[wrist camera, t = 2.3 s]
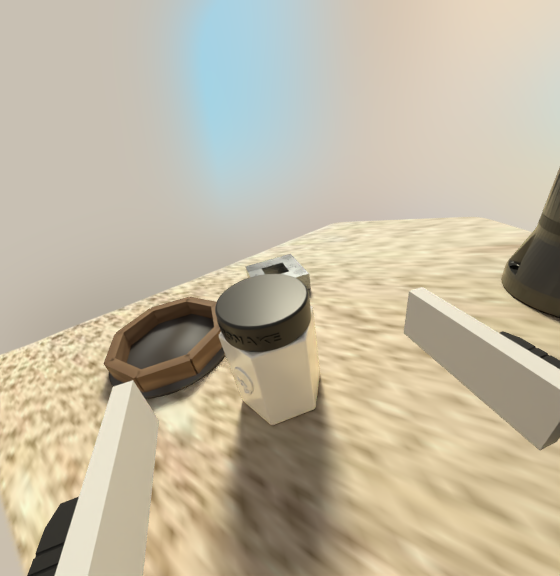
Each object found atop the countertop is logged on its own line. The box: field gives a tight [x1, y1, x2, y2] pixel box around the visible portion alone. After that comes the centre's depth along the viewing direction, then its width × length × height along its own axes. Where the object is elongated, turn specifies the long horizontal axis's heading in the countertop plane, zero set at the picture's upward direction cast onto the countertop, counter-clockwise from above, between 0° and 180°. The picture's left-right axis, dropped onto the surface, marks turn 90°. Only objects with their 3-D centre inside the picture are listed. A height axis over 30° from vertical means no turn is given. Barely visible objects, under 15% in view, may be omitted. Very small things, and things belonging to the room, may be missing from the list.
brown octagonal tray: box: [104, 297, 225, 398], centre depth 36 cm, size 17×17×3 cm
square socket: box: [246, 254, 311, 290], centre depth 46 cm, size 9×9×3 cm
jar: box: [215, 274, 320, 425], centre depth 25 cm, size 9×8×12 cm
